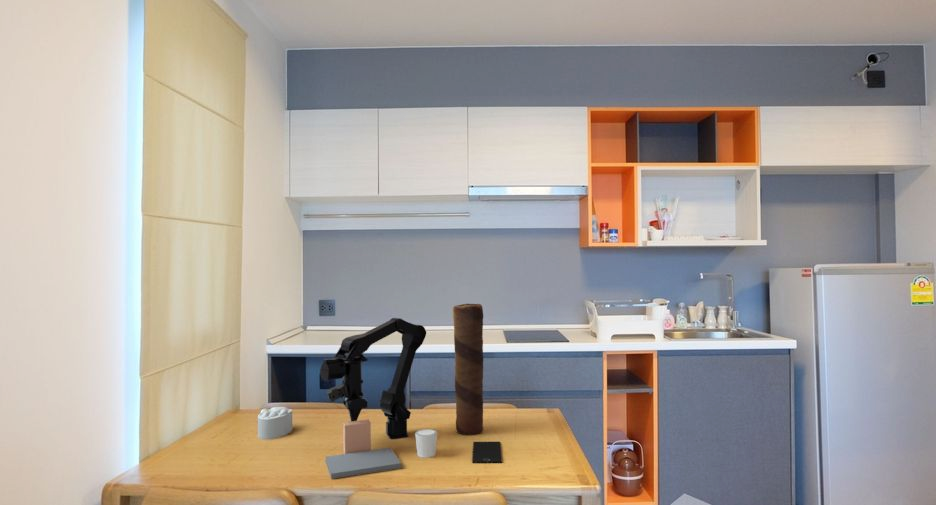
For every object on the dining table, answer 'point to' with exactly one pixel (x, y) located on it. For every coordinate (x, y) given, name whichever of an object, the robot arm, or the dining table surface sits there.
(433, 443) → the shot glass
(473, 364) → the wafer roll
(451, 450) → the dining table surface
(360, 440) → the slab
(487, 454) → the cell phone
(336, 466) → the mat
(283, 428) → the lumpy-topped squat cylinder
